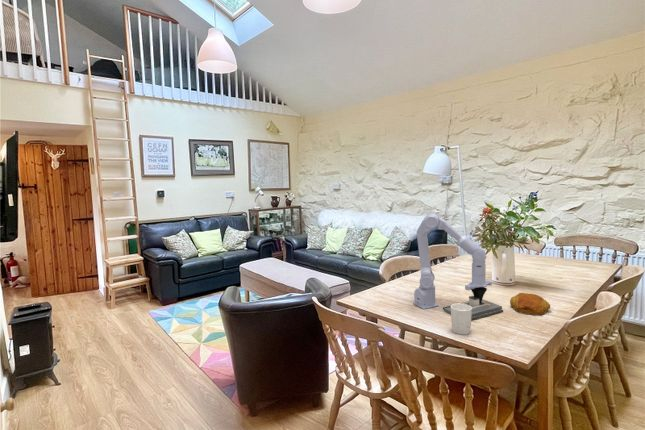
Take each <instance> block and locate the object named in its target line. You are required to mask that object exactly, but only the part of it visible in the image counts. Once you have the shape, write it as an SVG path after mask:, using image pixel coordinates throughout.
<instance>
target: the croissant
mask: <svg viewBox="0 0 645 430" xmlns="http://www.w3.org/2000/svg"><path fill="white" fill-rule="evenodd" d="M509 304H510V307H511V308H513V309H514V310H515V312H518V313H522V314H526V315H531V316H534V315H536V316H538V315H539V316H542V315H545V314H546V313H547V312H548V311H550V309H551V304H550V303H549V302H548V301H547V300H546V299H545V298H543V297H542V296H540V295H537V294H534V293H525V292H519V293H518V294H516V295H514V296H511V298H510V299H509Z"/></svg>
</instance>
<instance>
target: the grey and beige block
mask: <svg viewBox="0 0 645 430" xmlns="http://www.w3.org/2000/svg"><path fill="white" fill-rule="evenodd" d="M468 301H469V306H471V307H475V306H479V298H478V297H475V296H474V295H470V296H468Z"/></svg>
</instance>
